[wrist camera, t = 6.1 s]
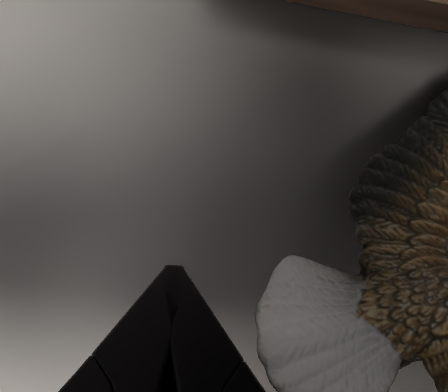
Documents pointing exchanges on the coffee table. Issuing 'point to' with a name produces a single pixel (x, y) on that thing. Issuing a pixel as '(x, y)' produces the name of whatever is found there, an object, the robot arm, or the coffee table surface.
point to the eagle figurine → (371, 280)
